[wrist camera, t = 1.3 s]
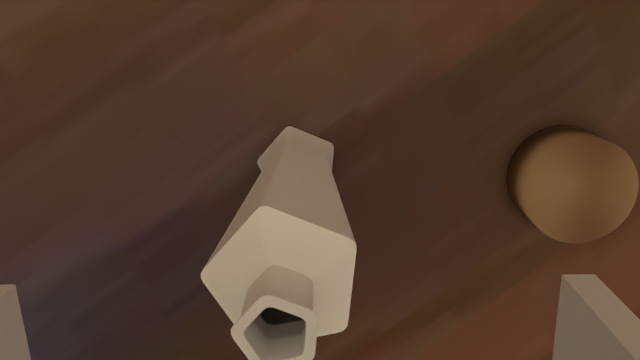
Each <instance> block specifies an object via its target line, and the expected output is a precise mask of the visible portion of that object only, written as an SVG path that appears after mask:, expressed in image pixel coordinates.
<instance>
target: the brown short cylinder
mask: <svg viewBox="0 0 640 360" xmlns="http://www.w3.org/2000/svg"><path fill="white" fill-rule="evenodd" d="M638 186H639V182H638V174H637V170H636V167H635V165H634V163H633V161H632V159H631V158H630V157H629V156H628V154H627V153H626V152H625V151H624V150H623V149H621V148H620V147H618V146H617V145H615V144H613V143H611V142H608V141H606V140H604V139H602V138H600V137H598V136H596V135H594V134H592V133H590V132H587V131H585V130H583V129H581V128H578V127H575V126H569V125H558V126H552V127H548V128H545V129H542V130H540V131H538V132H536V133H534V134H533V135H531V136H529V137H528V138H527V139H526V140H525V141H524V142H523V143H522V144H521V145H520V146H519V147H518V148H517V150H516V151H515V153H514V154H513V156H512V158H511V161H510V163H509V166H508V171H507V187H508V191H509V194H510V196H511V198H512V200H513V202H514V203H515V204H516V206H517V207H518V208H519V209H520V210H521V211H522V212H523V213H524V214H525V215H526V216H527V217H528V218H529V219H530V220H531V221H532V222H533V223H534V224H535V225H536V226H537V227H538V228H539V229H540V230H541V231H542V232H543V233H544V234H546V235H547V236H549V237H550V238H552V239H555V240H557V241H561V242H565V243H586V242H590V241H594V240H597V239H599V238H601V237H604V236H605V235H607V234H609V233H611V232H612V231H613V230H615V229H616V228H617V227H618V226H619V225H620V224H621V223H622V222H623V221H624V220H625V219H626V218H627V216H628V215H629V213H630V212H631V210H632V208H633V206H634V204H635V201H636V198H637V194H638Z"/></svg>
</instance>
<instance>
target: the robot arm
mask: <svg viewBox="0 0 640 360" xmlns="http://www.w3.org/2000/svg"><path fill="white" fill-rule="evenodd" d="M0 360H31V357H30V352H29V348H28V343H27V338H26V333H25V328H24V324H23V319H22V314H21V309H20V305H19V300H18V295H17V290H16V286H15V285H0ZM552 360H640V320H639V319H638V318H637V317H636V316H635V315H634V314H633V313H632V312H631V311H630V309H629V308H628V307H627V306H626V305H625V304H624V303H623V302H622V301H621V300H620V299H619V298H618V297H617V296H616V295H615V294H614V293H613V292H612V291H611V290H610V289H609V288H608V287H607V286H606V285H605V284H604V283H603V282H602V281H601V280H600V279H599V278H598V277H597V276H596V275H595V274H580V275H562V280H561V288H560V297H559V306H558V314H557V323H556V332H555V340H554V349H553V358H552Z"/></svg>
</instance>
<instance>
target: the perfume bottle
mask: <svg viewBox="0 0 640 360" xmlns="http://www.w3.org/2000/svg"><path fill="white" fill-rule="evenodd" d="M333 154H334V146H333V144H332V143H330V142H328V141H326V140H323V139H321V138H318V137H316V136H314V135H311V134H309V133H306V132H304V131H302V130H299V129H297V128H294V127H291V126H288V127H286V128H285V129H284V130H283V131H282V132H281V133H280V134H279V135H278V137H277V138H276V139H275V140H274V141H273V142H272V143H271V145H270V146H269V147H268V148H267V149H266V150H265V152H264V153H263V154H262V155H261V156H260V157H259V159H258V160H257V164H258V166H259V168H260V170H261V173H260V175H259V177H258V178H257V180H256V182H255V183H254V185H253V187H252V189H251V190H250V192H249V194H248V195H247V197H246V199H245V200H244V202H243V204H242V205H241V207H240V209H239V210H238V212H237V214H236V215H235V217H234V219H233V220H232V222H231V224H230V225H229V227H228V229H227V230H226V232H225V234H224V235H223V237H222V239H221V240H220V242H219V244H218V245H217V247H216V249H215V250H214V252H213V254H212V255H211V257H210V259H209V260H208V262H207V264H206V265H205V267H204V269H203V270H202V272H201V279H202V281H203V283H204V284H205V286H206V287H207V288H208V290H209V291H210V292H211V294H212V295H213V297H214V298H215V299H216V301H217V302H218V303H219V305H220V306H221V307H222V309H223V310H224V311H225V313H226V314H227V315H228V317H229V318H230V320H231V321H232V322H233V324H234V325H233V326H232V328H231V336H232V338H233V339H234V341H235V342H236V343H237V345H238V346H239V347H240V349H241V350H242V351H243V353H244V354H245V355H246V357H247V358H248V360H313V359H314V356H315V350H316V340H317V337H318V336H323V335H328V334H333V333H338V332H341V331H344V330H345V329H346V328H347V324H348V318H349V310H350V301H351V293H352V284H353V276H354V267H355V259H356V250H357V249H356V243H355V240H354V237H353V234H352V231H351V228H350V225H349V222H348V219H347V216H346V213H345V210H344V207H343V204H342V201H341V198H340V195H339V192H338V189H337V186H336V183H335V180H334V177H333V174H332V164H333Z"/></svg>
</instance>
